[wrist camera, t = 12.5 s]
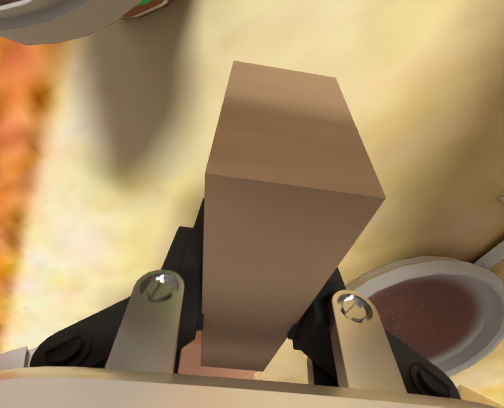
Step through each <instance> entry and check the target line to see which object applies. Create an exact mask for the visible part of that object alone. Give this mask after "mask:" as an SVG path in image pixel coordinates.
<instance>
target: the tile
mask: <svg viewBox="0 0 504 408" xmlns="http://www.w3.org/2000/svg"><path fill="white" fill-rule="evenodd" d="M254 372H255V371H251V370H239V369H228V368H216V367H205V366H201V331H198V330H197V332H196V338H195V340H193V341H192V342H190V343H189V344H188V345H186V346H185V347H183V348H182V354H181V362H180V370H179V374H188V375H201V376H213V377H226V378H238V379H250V380H252V379H253V375H254Z"/></svg>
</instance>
